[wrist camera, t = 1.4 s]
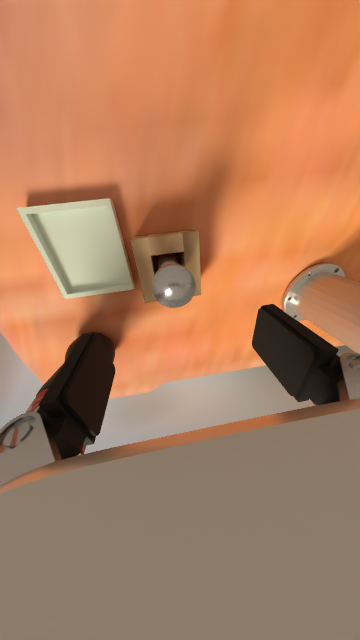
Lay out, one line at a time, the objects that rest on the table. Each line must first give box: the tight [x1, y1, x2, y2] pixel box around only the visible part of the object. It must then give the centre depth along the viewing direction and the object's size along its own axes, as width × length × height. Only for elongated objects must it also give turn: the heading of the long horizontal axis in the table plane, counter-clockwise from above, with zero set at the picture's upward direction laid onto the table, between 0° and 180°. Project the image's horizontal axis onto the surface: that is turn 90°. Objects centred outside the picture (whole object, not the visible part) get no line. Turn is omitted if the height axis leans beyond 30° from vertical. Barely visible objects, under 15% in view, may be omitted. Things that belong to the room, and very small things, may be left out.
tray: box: [17, 198, 135, 299], centre depth 24 cm, size 11×12×2 cm
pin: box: [153, 253, 196, 308], centre depth 22 cm, size 5×5×12 cm
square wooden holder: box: [130, 230, 201, 303], centre depth 25 cm, size 9×9×5 cm
